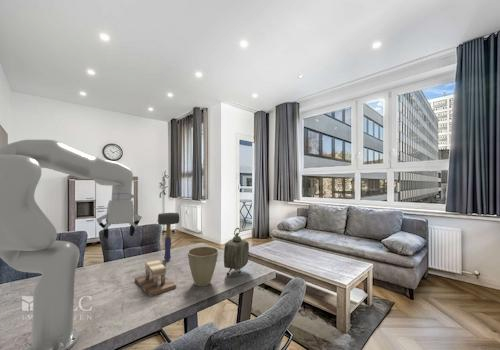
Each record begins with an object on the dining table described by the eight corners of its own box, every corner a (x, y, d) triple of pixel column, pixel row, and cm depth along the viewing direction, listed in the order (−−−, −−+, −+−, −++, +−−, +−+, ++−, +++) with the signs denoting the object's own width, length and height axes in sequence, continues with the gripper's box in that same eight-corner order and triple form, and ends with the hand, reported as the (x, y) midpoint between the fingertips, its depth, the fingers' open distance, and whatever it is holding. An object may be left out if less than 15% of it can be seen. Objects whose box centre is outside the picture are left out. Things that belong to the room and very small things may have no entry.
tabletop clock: (234, 267, 135) (235, 225, 136) (249, 269, 132) (249, 226, 132) (223, 276, 122) (224, 229, 122) (238, 279, 118) (239, 231, 119)
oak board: (165, 274, 107) (165, 268, 107) (152, 277, 104) (152, 270, 104) (157, 265, 118) (157, 259, 119) (145, 267, 115) (145, 261, 115)
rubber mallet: (157, 263, 138) (159, 214, 139) (156, 259, 144) (157, 212, 145) (178, 260, 144) (180, 213, 145) (176, 256, 150) (177, 211, 151)
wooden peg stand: (176, 287, 108) (176, 273, 108) (150, 296, 100) (150, 281, 100) (158, 274, 122) (159, 262, 122) (134, 281, 114) (135, 268, 114)
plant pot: (181, 282, 113) (182, 250, 114) (206, 274, 124) (207, 245, 124) (197, 293, 103) (198, 258, 103) (223, 283, 113) (224, 251, 114)
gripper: (139, 197, 108) (137, 233, 107) (96, 197, 97) (93, 237, 95) (145, 197, 103) (142, 236, 102) (99, 197, 91) (96, 241, 90)
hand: (119, 236), depth 99 cm, fingers open, 9 cm apart
